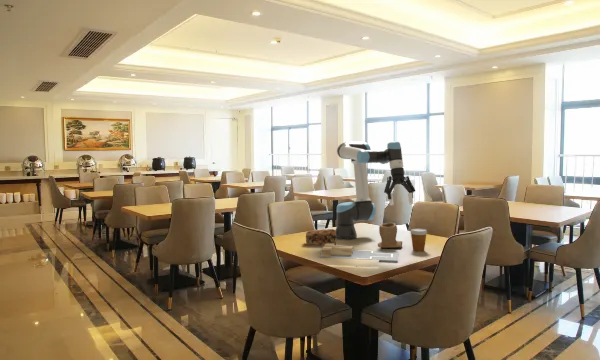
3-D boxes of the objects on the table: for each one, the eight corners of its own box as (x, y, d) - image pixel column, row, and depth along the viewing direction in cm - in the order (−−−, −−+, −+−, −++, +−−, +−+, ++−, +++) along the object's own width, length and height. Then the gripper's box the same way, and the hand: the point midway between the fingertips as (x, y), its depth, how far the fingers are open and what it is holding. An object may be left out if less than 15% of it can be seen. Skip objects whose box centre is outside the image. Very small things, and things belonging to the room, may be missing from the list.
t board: (324, 250, 253) (324, 248, 253) (397, 253, 244) (397, 251, 244) (318, 259, 234) (318, 257, 234) (397, 262, 225) (397, 260, 225)
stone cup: (378, 249, 254) (378, 224, 253) (376, 245, 265) (376, 221, 264) (404, 250, 252) (405, 224, 251) (402, 245, 264) (402, 221, 263)
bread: (336, 243, 272) (336, 228, 272) (336, 247, 262) (336, 231, 261) (306, 243, 274) (306, 228, 273) (305, 247, 263) (305, 231, 263)
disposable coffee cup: (407, 248, 256) (407, 228, 255) (423, 248, 257) (423, 228, 256) (413, 252, 246) (413, 231, 246) (429, 251, 247) (429, 231, 246)
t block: (326, 249, 251) (326, 243, 251) (353, 250, 248) (353, 243, 247) (321, 256, 235) (321, 249, 235) (350, 257, 232) (350, 250, 232)
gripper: (382, 166, 242) (387, 204, 238) (418, 166, 252) (423, 202, 248) (375, 169, 248) (379, 206, 245) (410, 169, 259) (415, 204, 255)
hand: (401, 204), depth 246 cm, fingers open, 13 cm apart
